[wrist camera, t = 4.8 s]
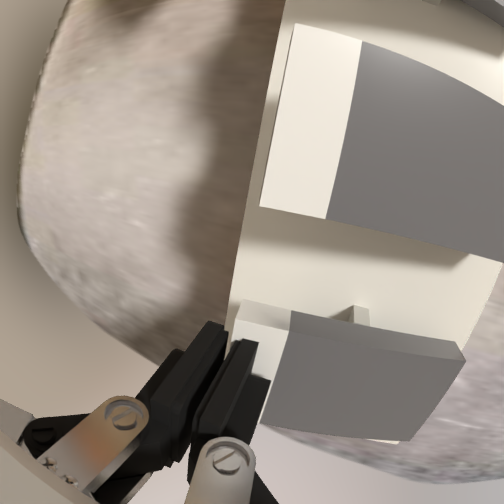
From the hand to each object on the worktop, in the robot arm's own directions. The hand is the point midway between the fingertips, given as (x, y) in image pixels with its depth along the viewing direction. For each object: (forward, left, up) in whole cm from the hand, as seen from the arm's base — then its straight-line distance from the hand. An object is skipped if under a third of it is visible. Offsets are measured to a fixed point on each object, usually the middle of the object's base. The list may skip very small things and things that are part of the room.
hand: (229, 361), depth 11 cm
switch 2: (-4, 0, -1) cm, 4 cm away
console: (-4, -8, -9) cm, 12 cm away
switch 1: (-4, -8, -1) cm, 9 cm away
